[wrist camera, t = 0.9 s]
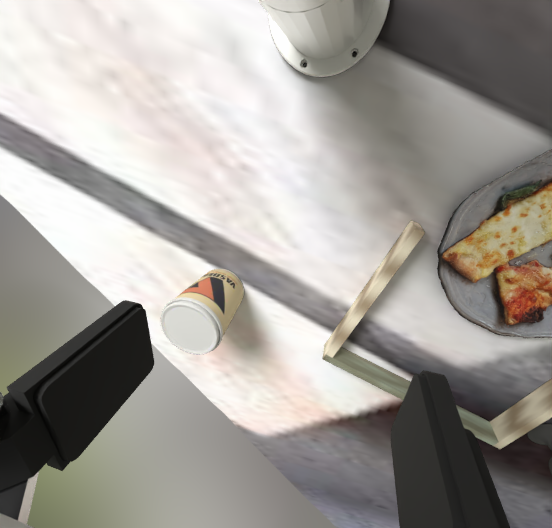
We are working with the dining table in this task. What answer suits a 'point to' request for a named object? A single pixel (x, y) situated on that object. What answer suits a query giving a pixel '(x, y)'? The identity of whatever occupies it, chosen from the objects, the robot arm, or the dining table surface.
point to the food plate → (503, 253)
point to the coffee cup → (203, 312)
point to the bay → (496, 432)
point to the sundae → (542, 437)
